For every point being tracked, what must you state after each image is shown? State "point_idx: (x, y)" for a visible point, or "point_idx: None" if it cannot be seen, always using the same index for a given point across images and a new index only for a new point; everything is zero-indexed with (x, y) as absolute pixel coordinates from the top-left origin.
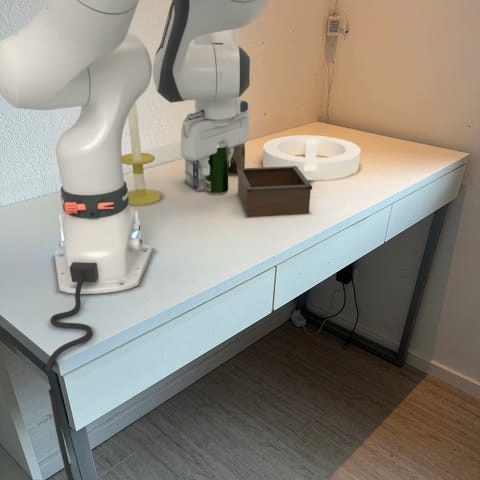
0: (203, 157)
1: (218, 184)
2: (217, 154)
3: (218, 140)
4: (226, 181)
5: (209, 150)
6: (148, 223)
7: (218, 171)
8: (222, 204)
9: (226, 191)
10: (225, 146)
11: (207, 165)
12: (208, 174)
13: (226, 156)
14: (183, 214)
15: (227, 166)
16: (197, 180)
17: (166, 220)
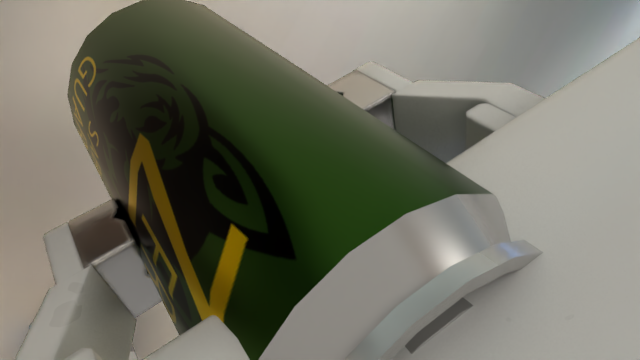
0: (626, 46)
1: (231, 26)
2: (421, 150)
3: (566, 286)
4: (145, 38)
5: (619, 111)
6: (462, 26)
7: (291, 64)
8: (61, 85)
9: (118, 11)
10: (378, 236)
11: (446, 84)
12: (370, 62)
13: (265, 154)
14: (324, 47)
15: (176, 113)
16: (133, 349)
17: (408, 18)
